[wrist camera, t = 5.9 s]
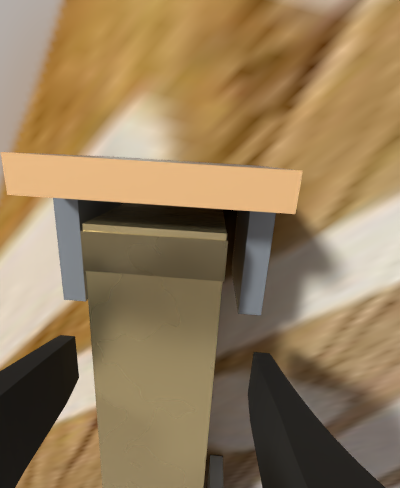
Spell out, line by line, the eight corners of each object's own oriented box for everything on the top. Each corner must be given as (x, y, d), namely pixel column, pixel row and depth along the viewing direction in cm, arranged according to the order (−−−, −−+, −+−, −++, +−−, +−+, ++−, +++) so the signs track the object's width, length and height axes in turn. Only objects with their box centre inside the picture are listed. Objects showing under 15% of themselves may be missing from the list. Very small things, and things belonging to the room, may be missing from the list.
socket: (247, 270, 13) (271, 352, 8) (106, 260, 13) (28, 331, 8) (260, 166, 12) (302, 170, 6) (101, 156, 12) (0, 152, 6)
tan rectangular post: (200, 466, 17) (195, 587, 12) (137, 460, 17) (108, 577, 12) (222, 204, 12) (228, 234, 7) (133, 198, 12) (79, 224, 7)
